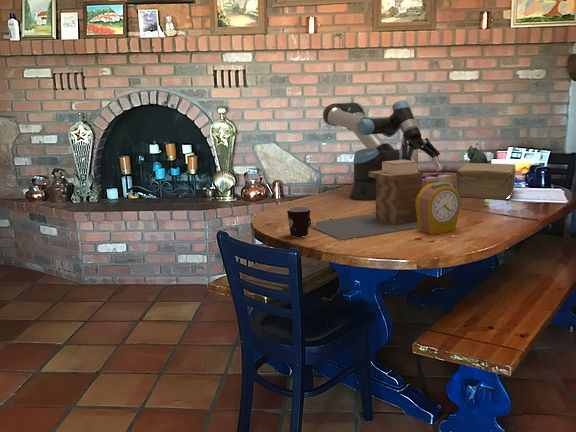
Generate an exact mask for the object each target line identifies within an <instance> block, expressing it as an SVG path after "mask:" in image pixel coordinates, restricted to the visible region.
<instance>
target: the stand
mask: <svg viewBox="0 0 576 432" xmlns="http://www.w3.org/2000/svg"><path fill="white" fill-rule="evenodd" d="M423 176H424V175H423V172H420V171H418V172H410V173H401V174H391V173H386V172H382V170H379V171H369V172H368V177H372V178H376V199H375V213H376V218H378V219H381V220H384V221H386V222H389V223H392V224H395V225H400V224H406V223H412V222H417V214H416V206H415V203H416V198H417V195H418V194H419V192H420V190H421V189H422V178H423Z"/></svg>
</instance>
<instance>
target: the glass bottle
mask: <svg viewBox="0 0 576 432" xmlns="http://www.w3.org/2000/svg"><path fill="white" fill-rule="evenodd" d="M403 135H404V134H403V133H402V137H401V138H402V139H401V145H400V148H399V149H400V150H402V148H403V146H402V142H403V141H404V140H405V138H404V136H403ZM409 147H410V146H409V145H408V149H407V154H408V151H409ZM411 159H413V161H416V162H417V168H418V162H419V150H418V149H416V150H413V153H412V156H411Z"/></svg>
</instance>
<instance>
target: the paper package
mask: <svg viewBox="0 0 576 432" xmlns="http://www.w3.org/2000/svg"><path fill="white" fill-rule="evenodd" d="M516 169H517V168H516V165H515V164H510V163H488V164H486V163H469V162H467V163H465V164H464V165H462V166H461V167H460V168H459V169H458V170H457V171H456V177H455V178H456V179H455V180H456V190H457V192H458V194H459V196H460V198H461V197H462V198H474V199H475V198H477V199H491V200H492V199H493V200H504V201H505V199H506V198H507V197H508V196H509V195H511V193H512V191H513V189H514V190H515V179H516ZM513 192H514V191H513ZM512 194H513V193H512ZM511 196H512V195H511Z"/></svg>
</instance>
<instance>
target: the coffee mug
mask: <svg viewBox="0 0 576 432" xmlns="http://www.w3.org/2000/svg"><path fill="white" fill-rule="evenodd" d="M286 211H287V212H286V213H287V219H288V225H289V226H288V227H289V233H290V234H289V235H290V237H291V236H295V237H302V236H306V235H308V236H309V234H308V233H309V228H310V227H309V226H310V224H311V222H312V219H311V217H310V216H311V208H310V207H307V206H291V207H288V208H287V209H286ZM295 237H294V238H295ZM306 237H307V236H306ZM302 238H303V237H302Z"/></svg>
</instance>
